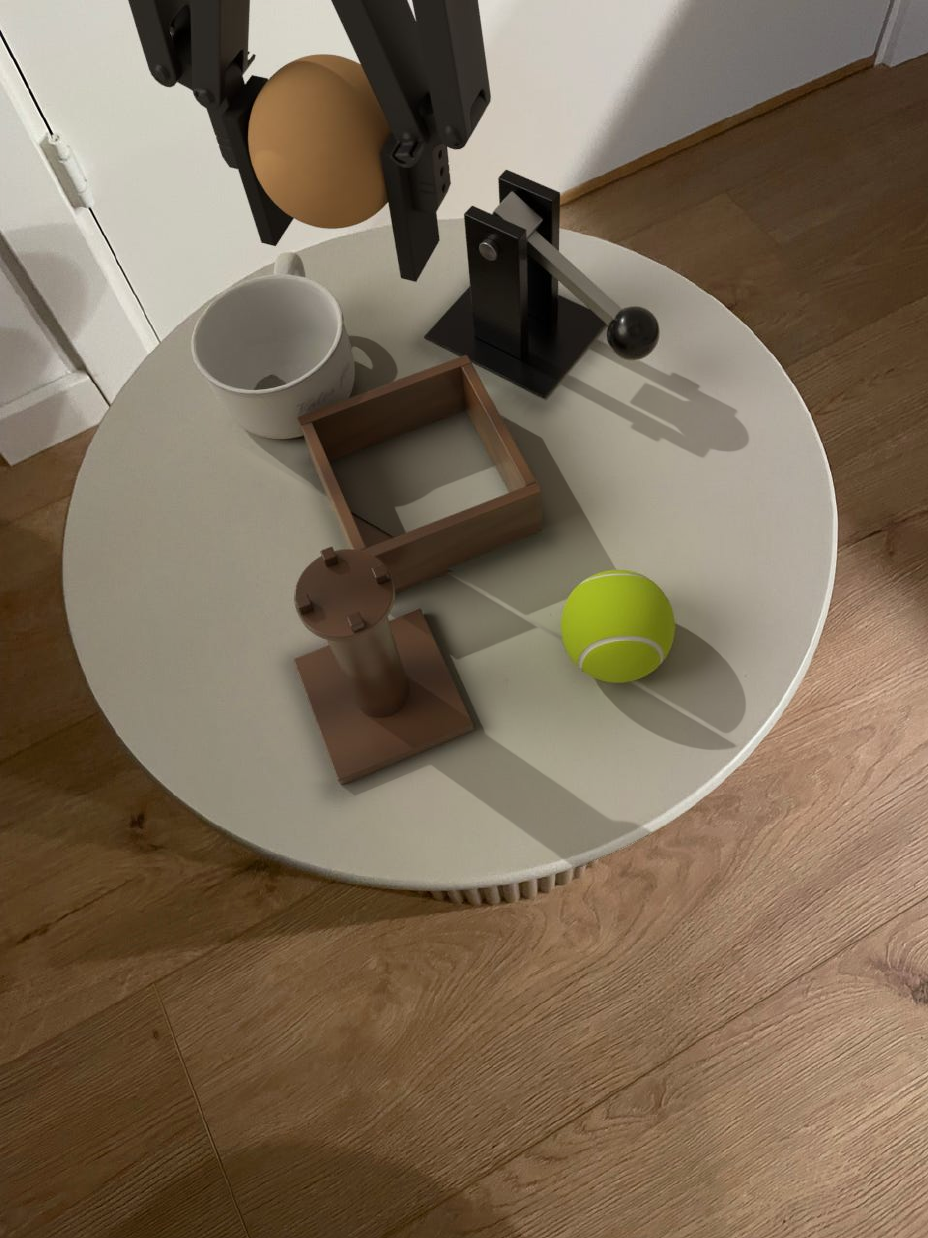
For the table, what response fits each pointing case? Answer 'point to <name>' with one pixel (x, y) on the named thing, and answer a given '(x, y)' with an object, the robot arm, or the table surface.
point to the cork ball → (320, 142)
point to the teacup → (275, 349)
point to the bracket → (515, 298)
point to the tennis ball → (617, 626)
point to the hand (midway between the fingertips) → (349, 240)
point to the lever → (585, 287)
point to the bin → (403, 412)
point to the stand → (371, 668)
